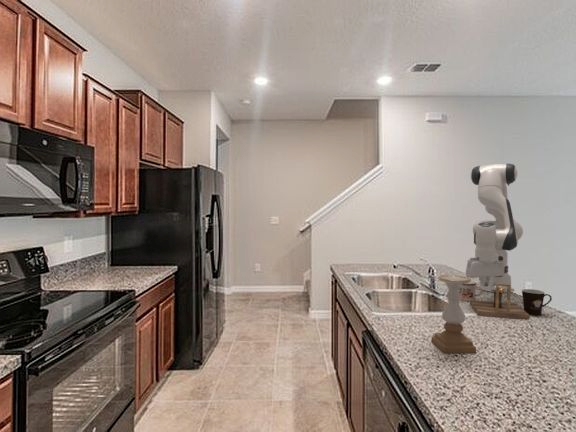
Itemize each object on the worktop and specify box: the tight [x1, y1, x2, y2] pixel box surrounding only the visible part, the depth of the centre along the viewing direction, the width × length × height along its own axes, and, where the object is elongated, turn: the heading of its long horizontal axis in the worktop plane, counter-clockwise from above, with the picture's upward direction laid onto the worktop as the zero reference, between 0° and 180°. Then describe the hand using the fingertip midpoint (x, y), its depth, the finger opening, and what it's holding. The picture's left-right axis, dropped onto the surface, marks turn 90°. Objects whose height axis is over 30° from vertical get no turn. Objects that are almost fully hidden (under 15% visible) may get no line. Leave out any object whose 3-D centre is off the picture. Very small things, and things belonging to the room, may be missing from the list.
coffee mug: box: [521, 288, 552, 316], centre depth 174 cm, size 12×9×10 cm
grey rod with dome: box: [491, 282, 506, 294], centre depth 180 cm, size 20×6×3 cm, turn 162°
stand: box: [469, 284, 530, 320], centre depth 178 cm, size 20×20×14 cm
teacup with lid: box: [460, 275, 483, 302], centre depth 199 cm, size 12×9×12 cm
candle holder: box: [431, 274, 477, 354], centre depth 134 cm, size 11×11×24 cm
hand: (484, 286), depth 186 cm, fingers closed
